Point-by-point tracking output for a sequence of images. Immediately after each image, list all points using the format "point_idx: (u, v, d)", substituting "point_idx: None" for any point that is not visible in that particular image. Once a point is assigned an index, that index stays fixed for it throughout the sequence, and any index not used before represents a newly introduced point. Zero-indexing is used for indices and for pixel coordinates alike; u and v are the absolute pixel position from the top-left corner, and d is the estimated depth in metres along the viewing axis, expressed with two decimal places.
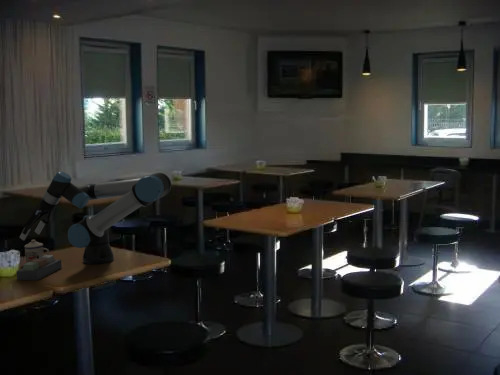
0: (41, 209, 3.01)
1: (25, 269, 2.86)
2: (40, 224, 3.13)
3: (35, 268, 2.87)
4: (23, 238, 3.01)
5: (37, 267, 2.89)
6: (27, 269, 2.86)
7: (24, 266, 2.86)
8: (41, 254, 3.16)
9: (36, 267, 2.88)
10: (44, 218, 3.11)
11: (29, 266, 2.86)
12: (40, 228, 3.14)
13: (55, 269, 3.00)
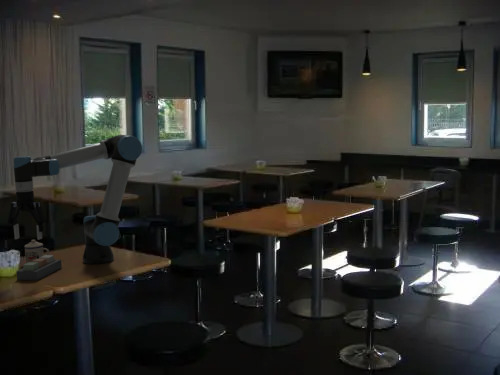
0: (33, 200, 2.84)
1: (25, 269, 2.86)
2: (16, 228, 2.87)
3: (35, 268, 2.87)
4: (41, 236, 2.86)
5: (37, 267, 2.89)
6: (27, 269, 2.86)
7: (24, 266, 2.86)
8: (41, 254, 3.16)
9: (36, 267, 2.88)
10: (19, 216, 2.87)
11: (29, 266, 2.86)
12: (18, 231, 2.88)
13: (55, 269, 3.00)
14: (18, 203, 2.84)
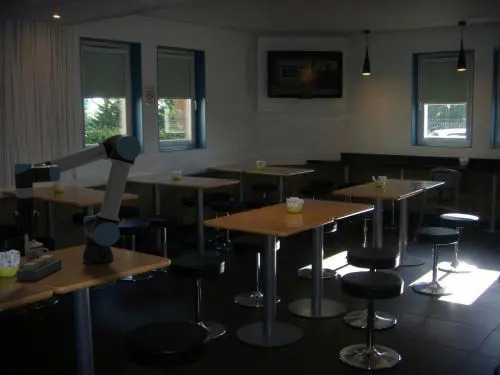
0: (34, 208, 2.84)
1: (25, 269, 2.86)
2: None
3: (35, 268, 2.87)
4: (30, 246, 2.87)
5: (37, 267, 2.89)
6: (27, 269, 2.86)
7: (24, 266, 2.86)
8: (41, 254, 3.16)
9: (36, 267, 2.88)
10: (26, 224, 2.86)
11: (29, 266, 2.86)
12: None
13: (55, 269, 3.00)
14: (18, 209, 2.84)
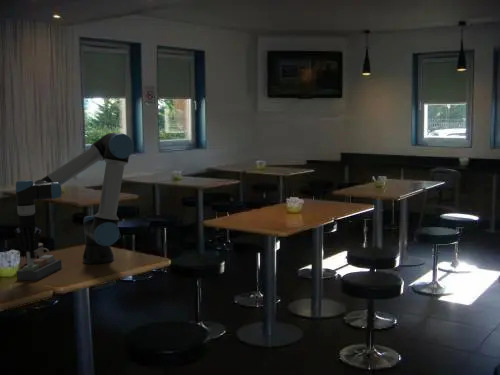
0: None
1: None
2: None
3: None
4: (32, 263, 2.89)
5: None
6: None
7: (24, 268, 2.86)
8: (41, 254, 3.16)
9: (36, 269, 2.88)
10: (27, 241, 2.87)
11: (29, 268, 2.86)
12: None
13: (55, 269, 3.00)
14: (20, 226, 2.85)
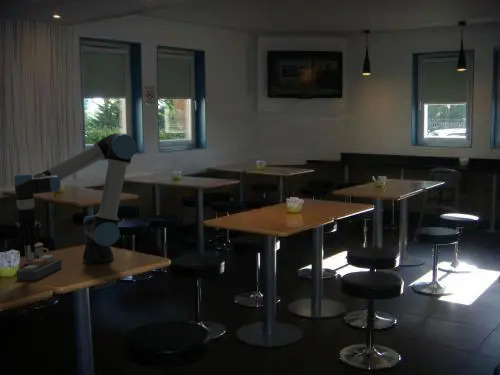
0: None
1: None
2: None
3: None
4: (33, 256, 2.88)
5: None
6: None
7: (24, 269, 2.86)
8: (41, 254, 3.16)
9: None
10: (28, 235, 2.87)
11: (29, 269, 2.86)
12: None
13: (55, 269, 3.00)
14: (19, 220, 2.85)
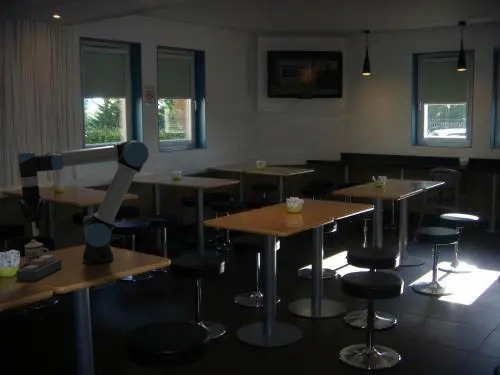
0: (40, 196, 2.91)
1: None
2: None
3: None
4: (38, 233, 2.95)
5: None
6: None
7: (24, 269, 2.86)
8: (41, 254, 3.16)
9: None
10: (32, 212, 2.94)
11: (29, 269, 2.86)
12: None
13: (55, 269, 3.00)
14: (24, 198, 2.92)
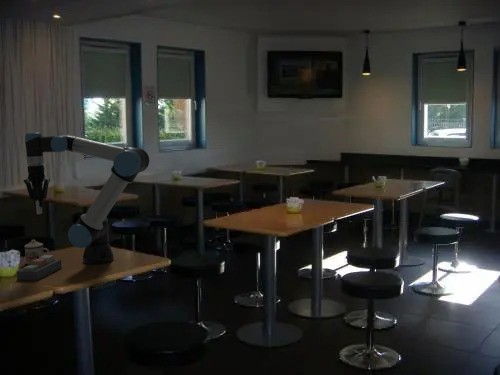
0: (44, 175, 3.02)
1: None
2: None
3: None
4: (41, 211, 3.05)
5: None
6: None
7: (24, 269, 2.86)
8: (41, 254, 3.16)
9: None
10: (36, 190, 3.04)
11: (29, 269, 2.86)
12: None
13: (55, 269, 3.00)
14: (29, 176, 3.02)
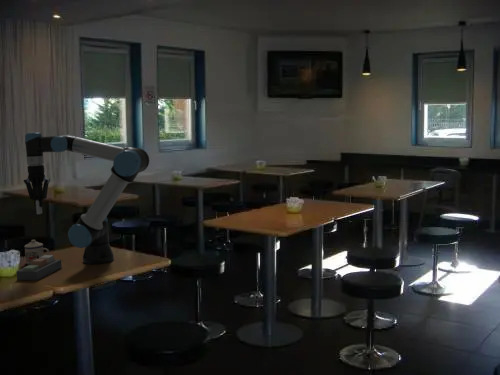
0: (44, 175, 3.02)
1: None
2: None
3: None
4: (41, 211, 3.05)
5: None
6: None
7: (24, 269, 2.86)
8: (41, 254, 3.16)
9: None
10: (36, 190, 3.04)
11: (29, 269, 2.86)
12: None
13: (55, 269, 3.00)
14: (29, 176, 3.02)
